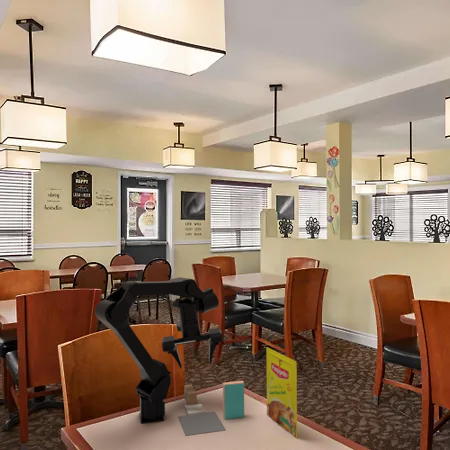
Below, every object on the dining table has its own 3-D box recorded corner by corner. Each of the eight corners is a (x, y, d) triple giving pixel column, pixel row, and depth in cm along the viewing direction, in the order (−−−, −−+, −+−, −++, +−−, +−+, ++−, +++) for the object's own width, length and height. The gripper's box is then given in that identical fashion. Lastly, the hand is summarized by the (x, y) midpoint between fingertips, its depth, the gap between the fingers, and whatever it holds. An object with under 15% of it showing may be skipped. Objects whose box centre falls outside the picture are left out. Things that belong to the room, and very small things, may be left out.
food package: (265, 415, 124) (264, 347, 125) (268, 414, 125) (268, 346, 125) (295, 439, 110) (294, 361, 111) (298, 438, 111) (298, 361, 111)
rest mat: (185, 436, 112) (185, 435, 112) (178, 417, 124) (178, 416, 124) (225, 430, 115) (225, 429, 115) (214, 412, 127) (214, 411, 127)
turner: (180, 398, 137) (180, 385, 138) (195, 396, 139) (195, 384, 139) (188, 415, 124) (188, 401, 124) (205, 413, 125) (205, 399, 125)
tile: (224, 419, 122) (224, 384, 122) (223, 417, 123) (222, 382, 123) (244, 417, 123) (244, 382, 123) (242, 414, 125) (242, 380, 125)
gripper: (215, 305, 141) (221, 351, 143) (159, 315, 139) (166, 360, 140) (220, 315, 130) (226, 364, 132) (158, 325, 128) (166, 375, 129)
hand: (195, 365), depth 134 cm, fingers open, 9 cm apart
